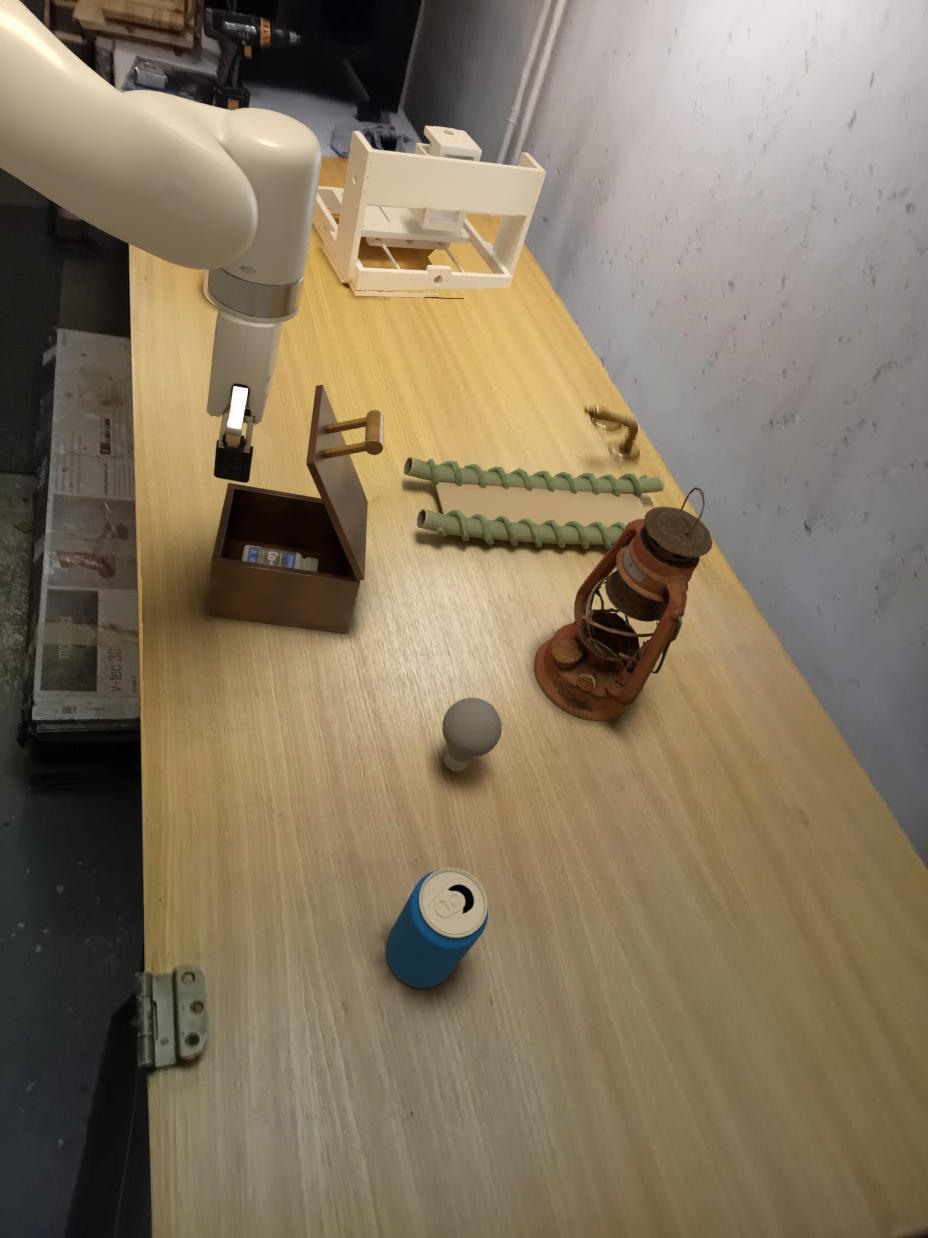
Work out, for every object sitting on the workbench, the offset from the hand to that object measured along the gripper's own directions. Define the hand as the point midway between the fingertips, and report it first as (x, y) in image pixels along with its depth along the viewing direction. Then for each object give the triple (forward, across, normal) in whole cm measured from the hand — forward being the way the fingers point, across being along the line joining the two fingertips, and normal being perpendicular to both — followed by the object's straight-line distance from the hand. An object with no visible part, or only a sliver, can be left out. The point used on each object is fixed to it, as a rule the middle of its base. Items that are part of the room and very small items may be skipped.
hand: (238, 446), depth 80 cm
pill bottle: (+17, -1, +2) cm, 17 cm away
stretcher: (+19, -22, +42) cm, 51 cm away
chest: (+20, -2, +7) cm, 21 cm away
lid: (+4, -2, +10) cm, 11 cm away
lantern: (+20, +6, +44) cm, 48 cm away
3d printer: (+19, -93, +22) cm, 97 cm away
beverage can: (+21, +40, +23) cm, 51 cm away
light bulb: (+20, +20, +27) cm, 39 cm away
